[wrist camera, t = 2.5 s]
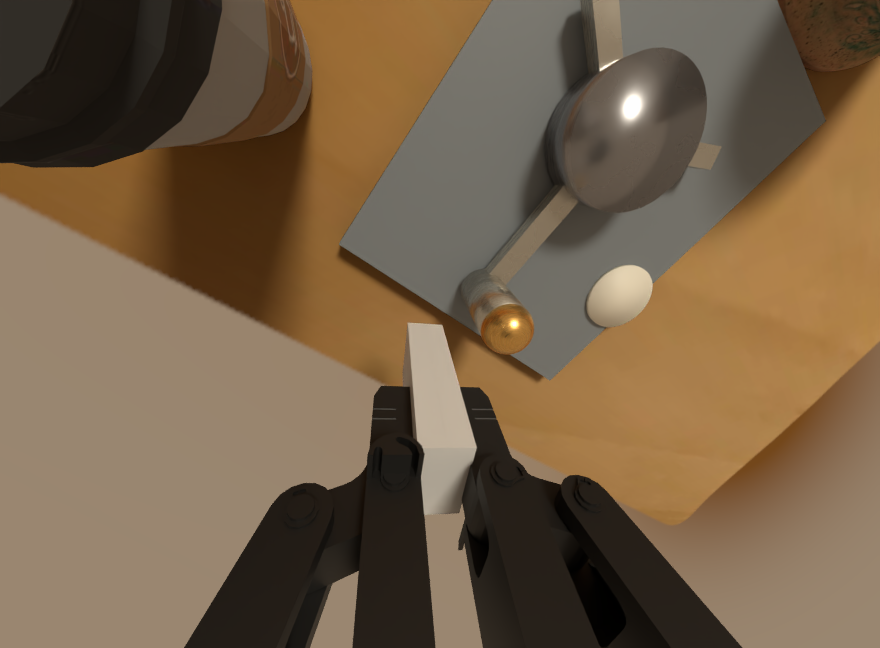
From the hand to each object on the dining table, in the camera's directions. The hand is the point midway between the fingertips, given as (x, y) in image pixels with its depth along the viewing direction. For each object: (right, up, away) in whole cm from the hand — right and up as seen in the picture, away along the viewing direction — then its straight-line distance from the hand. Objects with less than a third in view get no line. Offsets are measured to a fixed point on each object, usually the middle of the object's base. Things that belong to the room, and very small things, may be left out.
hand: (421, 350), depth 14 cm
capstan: (+8, +9, +6) cm, 13 cm away
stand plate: (+10, +11, +6) cm, 16 cm away
